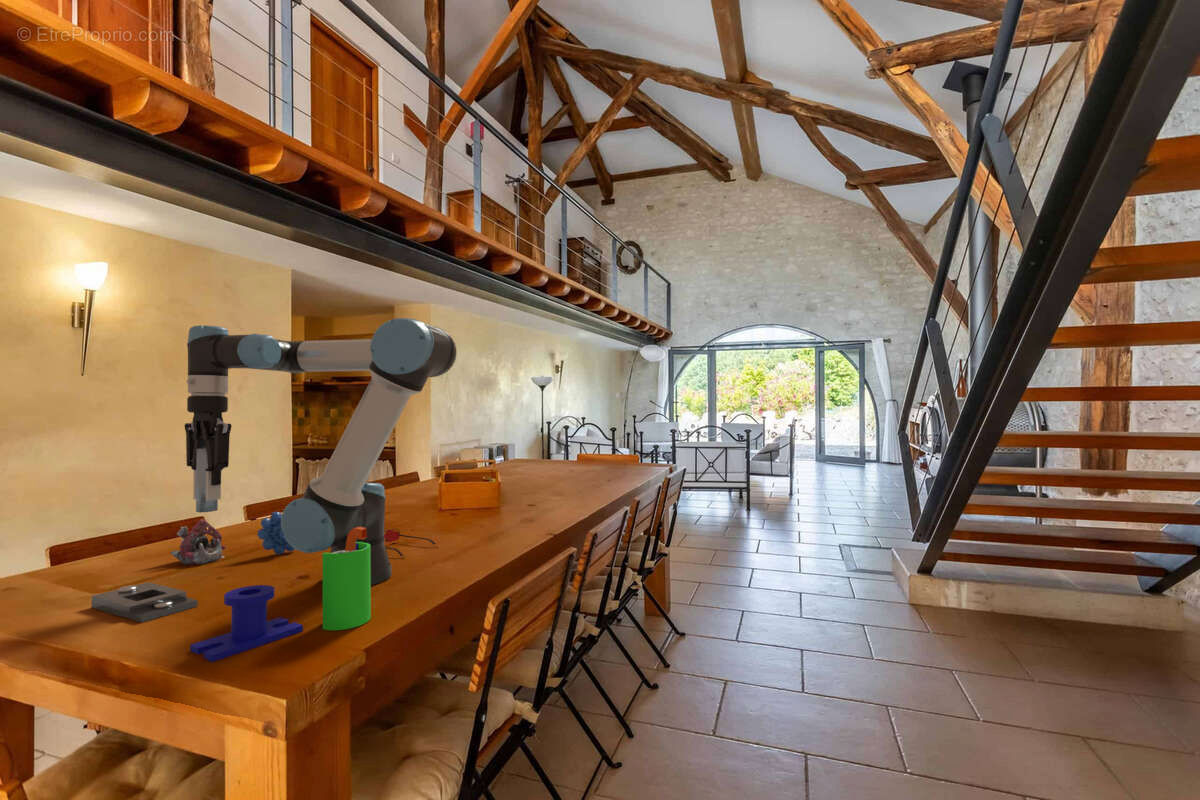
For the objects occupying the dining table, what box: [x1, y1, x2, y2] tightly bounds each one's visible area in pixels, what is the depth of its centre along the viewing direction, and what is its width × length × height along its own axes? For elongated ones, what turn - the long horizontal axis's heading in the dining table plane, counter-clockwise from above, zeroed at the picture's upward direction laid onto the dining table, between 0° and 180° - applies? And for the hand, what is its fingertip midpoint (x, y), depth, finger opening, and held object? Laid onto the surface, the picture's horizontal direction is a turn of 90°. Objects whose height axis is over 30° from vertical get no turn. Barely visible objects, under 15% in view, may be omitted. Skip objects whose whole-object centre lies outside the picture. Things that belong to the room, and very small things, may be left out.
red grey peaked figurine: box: [170, 518, 227, 565], centre depth 149 cm, size 11×11×12 cm
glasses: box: [384, 528, 436, 557], centre depth 162 cm, size 14×16×5 cm
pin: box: [195, 448, 219, 513], centre depth 126 cm, size 4×4×14 cm
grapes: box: [256, 511, 296, 555], centre depth 156 cm, size 12×7×12 cm, turn 141°
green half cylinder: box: [322, 527, 372, 631], centre depth 108 cm, size 9×8×18 cm
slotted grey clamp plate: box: [91, 581, 199, 623], centre depth 115 cm, size 18×10×3 cm, turn 65°
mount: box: [189, 584, 304, 663], centre depth 99 cm, size 15×8×9 cm, turn 148°
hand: (206, 498), depth 126 cm, fingers closed on pin, 4 cm apart
